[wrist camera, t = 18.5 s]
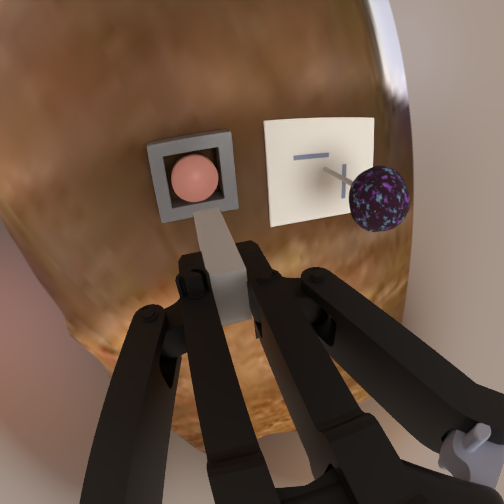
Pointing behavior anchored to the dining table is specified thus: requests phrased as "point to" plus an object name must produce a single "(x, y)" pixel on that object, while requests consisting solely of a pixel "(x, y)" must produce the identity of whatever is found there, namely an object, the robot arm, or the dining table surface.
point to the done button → (194, 177)
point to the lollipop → (377, 198)
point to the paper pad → (314, 165)
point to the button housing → (187, 143)
